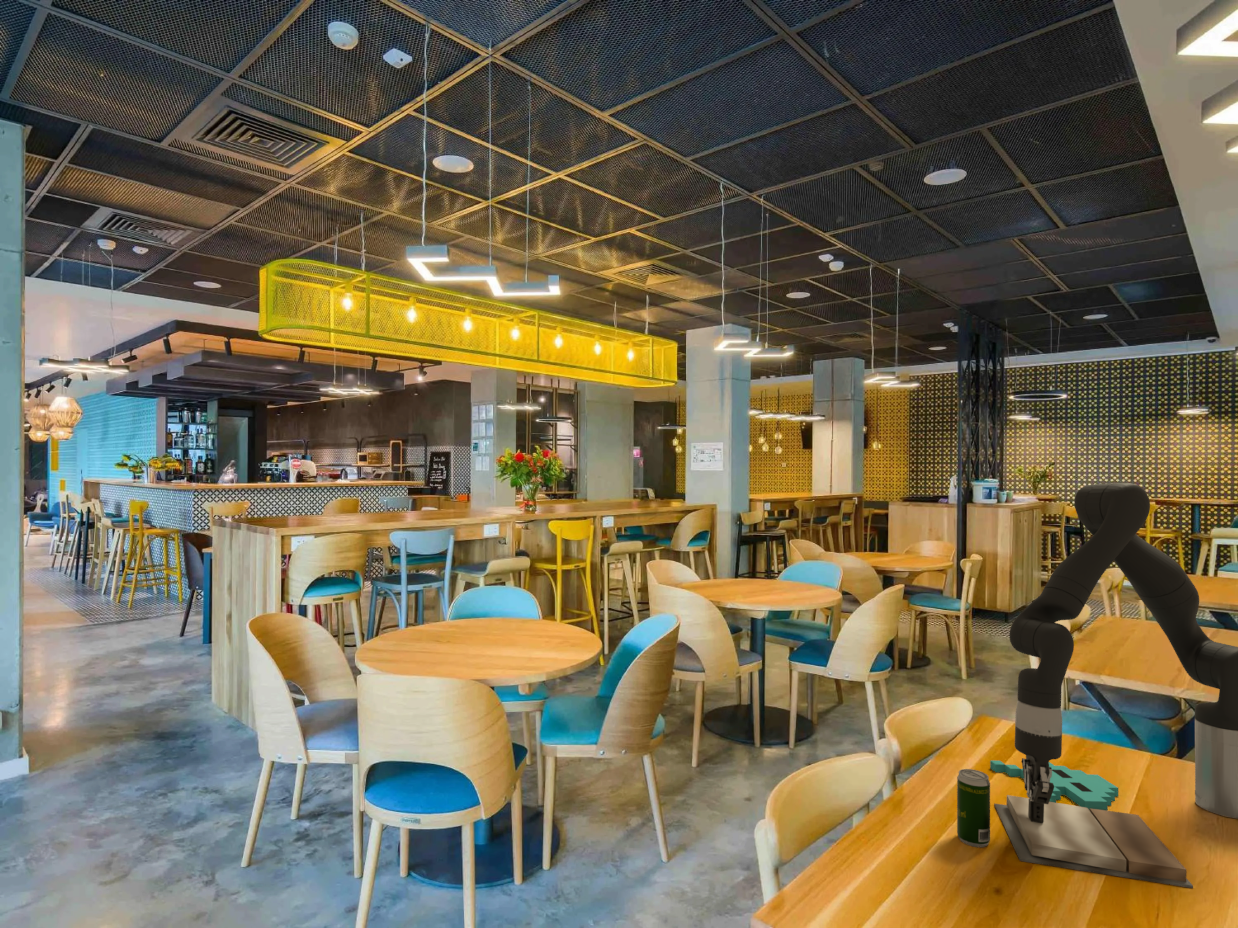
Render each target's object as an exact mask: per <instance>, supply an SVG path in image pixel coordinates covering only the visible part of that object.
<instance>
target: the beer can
mask: <svg viewBox="0 0 1238 928" xmlns="http://www.w3.org/2000/svg"><path fill="white" fill-rule="evenodd" d="M956 777H957V778H956V782H957V784H956V786H957V787H956V791H957V792H956V793H957V794H956V797H957V798H956V799H957V800H956V801H957V803H956V804H957V805H956V806H957V807H956V808H957V809H956V810H957V811H956V816H957V817H956V827H957V829H956V834H957V837H958V839H959V841H960V842H962V843H963V844H965V845H967V846H970V847H974V848H985V847H987V846H988V845H989V843H990V842H991V782H990V780H989V775H988V774H987V773H984V772H983V771H981V770H976V769H971V768H962V769H960V770H959V771H958V774H957V776H956Z"/></svg>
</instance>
